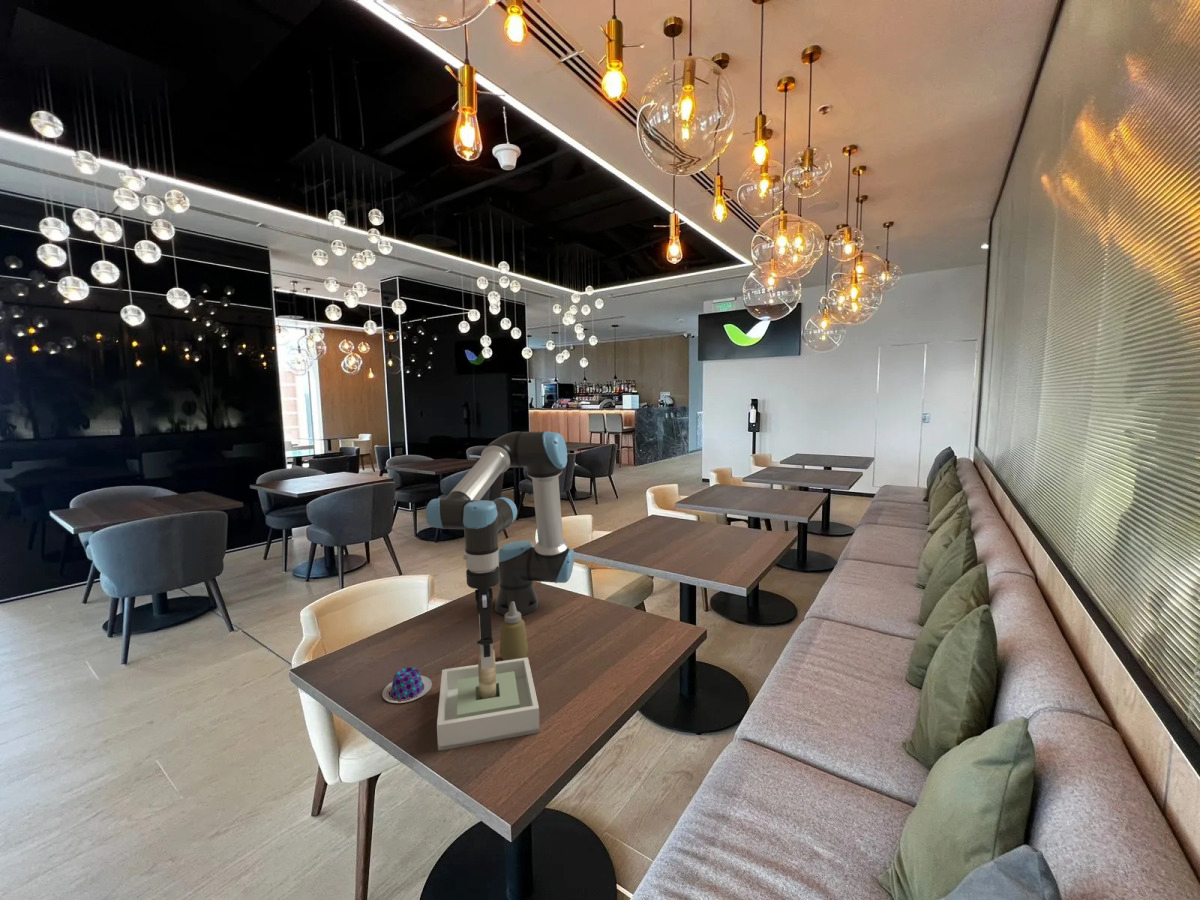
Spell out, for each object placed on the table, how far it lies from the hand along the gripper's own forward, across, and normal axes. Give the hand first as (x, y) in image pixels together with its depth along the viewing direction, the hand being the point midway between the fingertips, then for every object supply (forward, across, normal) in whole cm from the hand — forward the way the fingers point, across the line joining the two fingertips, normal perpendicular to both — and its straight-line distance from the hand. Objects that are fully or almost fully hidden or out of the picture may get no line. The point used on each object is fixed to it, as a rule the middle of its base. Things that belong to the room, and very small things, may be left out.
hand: (486, 652), depth 119 cm
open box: (+15, 0, 0) cm, 15 cm away
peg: (+14, 0, 0) cm, 14 cm away
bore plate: (+15, 0, 0) cm, 15 cm away
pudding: (+16, -14, -20) cm, 29 cm away
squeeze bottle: (+15, -20, +8) cm, 26 cm away
